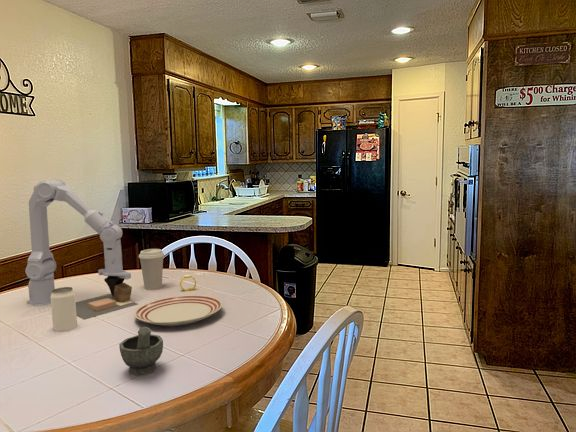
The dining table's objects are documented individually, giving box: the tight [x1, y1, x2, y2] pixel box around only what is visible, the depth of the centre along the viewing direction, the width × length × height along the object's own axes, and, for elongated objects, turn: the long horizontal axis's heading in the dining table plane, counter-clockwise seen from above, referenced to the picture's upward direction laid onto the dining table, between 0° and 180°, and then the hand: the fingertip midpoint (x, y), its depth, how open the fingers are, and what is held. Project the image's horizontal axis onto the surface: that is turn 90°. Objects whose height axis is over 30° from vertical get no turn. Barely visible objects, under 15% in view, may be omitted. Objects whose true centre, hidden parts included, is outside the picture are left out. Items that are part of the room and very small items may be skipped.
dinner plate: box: [133, 294, 223, 327], centre depth 141 cm, size 28×27×3 cm
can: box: [50, 286, 78, 332], centre depth 132 cm, size 6×6×12 cm
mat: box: [75, 293, 139, 320], centre depth 152 cm, size 20×19×1 cm
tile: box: [88, 298, 117, 311], centre depth 150 cm, size 2×7×6 cm
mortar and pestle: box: [118, 326, 164, 377], centre depth 104 cm, size 11×9×12 cm
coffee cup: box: [138, 248, 165, 291], centre depth 172 cm, size 10×10×15 cm
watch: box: [179, 274, 197, 292], centre depth 169 cm, size 6×3×6 cm, turn 108°
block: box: [113, 282, 133, 303], centre depth 156 cm, size 4×4×5 cm
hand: (115, 296), depth 158 cm, fingers closed
